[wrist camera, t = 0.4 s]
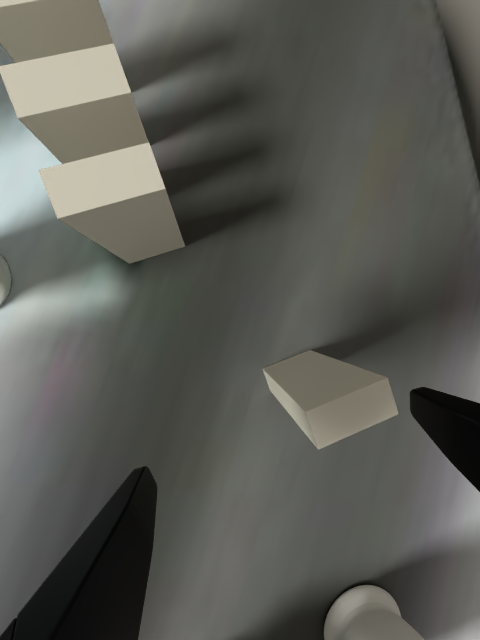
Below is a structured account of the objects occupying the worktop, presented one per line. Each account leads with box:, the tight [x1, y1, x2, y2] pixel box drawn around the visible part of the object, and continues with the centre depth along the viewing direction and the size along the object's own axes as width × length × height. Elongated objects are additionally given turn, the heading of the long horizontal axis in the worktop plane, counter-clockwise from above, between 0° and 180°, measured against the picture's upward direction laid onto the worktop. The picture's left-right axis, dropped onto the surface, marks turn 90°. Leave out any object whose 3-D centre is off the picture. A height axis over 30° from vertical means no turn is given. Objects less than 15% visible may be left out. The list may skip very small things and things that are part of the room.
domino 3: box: [0, 43, 148, 164], centre depth 16 cm, size 2×5×10 cm, turn 109°
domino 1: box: [263, 350, 398, 450], centre depth 18 cm, size 2×5×10 cm, turn 109°
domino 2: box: [38, 142, 185, 264], centre depth 16 cm, size 2×5×10 cm, turn 109°
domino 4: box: [0, 0, 113, 63], centre depth 15 cm, size 2×5×10 cm, turn 109°
